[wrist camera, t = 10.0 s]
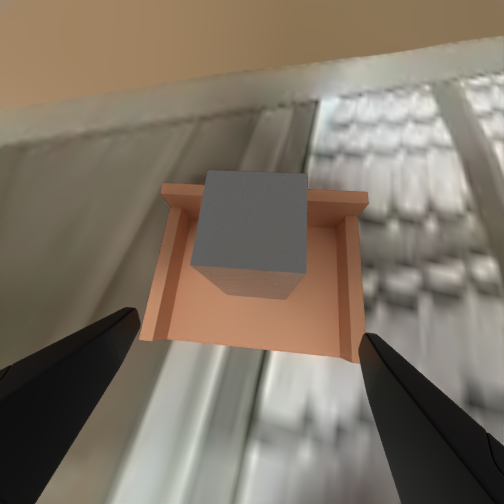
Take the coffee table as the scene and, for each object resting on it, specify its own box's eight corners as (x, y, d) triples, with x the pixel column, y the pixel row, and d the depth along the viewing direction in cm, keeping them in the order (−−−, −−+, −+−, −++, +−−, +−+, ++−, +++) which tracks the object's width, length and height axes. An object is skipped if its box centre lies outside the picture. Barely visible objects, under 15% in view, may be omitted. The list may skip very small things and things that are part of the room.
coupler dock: (350, 358, 17) (383, 370, 13) (158, 337, 19) (121, 341, 14) (344, 221, 21) (367, 192, 16) (184, 213, 22) (163, 183, 18)
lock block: (285, 300, 18) (306, 273, 9) (227, 295, 19) (190, 265, 9) (287, 245, 20) (307, 173, 11) (234, 241, 20) (207, 170, 11)
